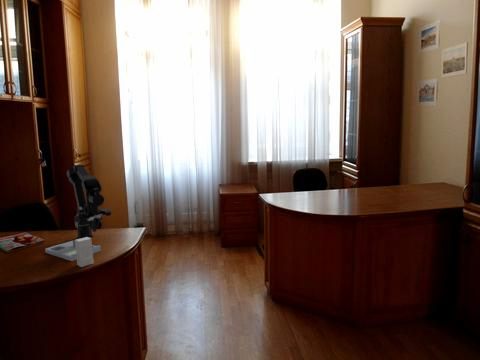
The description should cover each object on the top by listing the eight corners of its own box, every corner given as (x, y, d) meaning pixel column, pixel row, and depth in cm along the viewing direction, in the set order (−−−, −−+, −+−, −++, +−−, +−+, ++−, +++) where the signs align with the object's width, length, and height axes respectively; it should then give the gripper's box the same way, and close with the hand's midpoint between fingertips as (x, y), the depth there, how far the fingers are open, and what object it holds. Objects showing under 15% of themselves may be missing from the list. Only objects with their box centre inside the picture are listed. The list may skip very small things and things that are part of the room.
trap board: (74, 243, 211) (74, 238, 210) (100, 251, 199) (100, 245, 198) (45, 252, 198) (44, 246, 197) (71, 261, 186) (71, 255, 185)
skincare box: (89, 261, 185) (87, 236, 183) (93, 263, 182) (91, 238, 180) (76, 265, 181) (74, 239, 179) (80, 267, 178) (78, 241, 176)
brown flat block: (81, 243, 205) (80, 238, 205) (86, 244, 203) (86, 239, 202) (73, 245, 202) (72, 240, 201) (78, 247, 199) (78, 242, 199)
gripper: (97, 197, 217) (99, 225, 220) (66, 204, 202) (69, 233, 205) (110, 199, 211) (113, 228, 214) (79, 206, 196) (82, 237, 198)
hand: (94, 231), depth 208 cm, fingers closed
